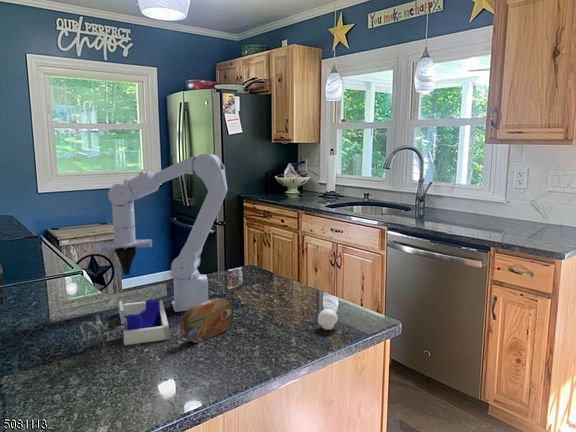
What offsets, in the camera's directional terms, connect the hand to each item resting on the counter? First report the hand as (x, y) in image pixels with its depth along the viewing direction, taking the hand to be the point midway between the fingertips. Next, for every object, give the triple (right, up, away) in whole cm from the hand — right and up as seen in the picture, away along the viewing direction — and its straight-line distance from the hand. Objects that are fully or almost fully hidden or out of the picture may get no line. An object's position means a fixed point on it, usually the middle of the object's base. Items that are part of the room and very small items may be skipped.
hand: (126, 273), depth 124 cm
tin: (+27, -13, -18) cm, 35 cm away
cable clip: (+10, -12, -16) cm, 22 cm away
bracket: (+10, -11, -13) cm, 20 cm away
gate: (+2, -11, -8) cm, 14 cm away
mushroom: (+56, -12, -14) cm, 59 cm away
